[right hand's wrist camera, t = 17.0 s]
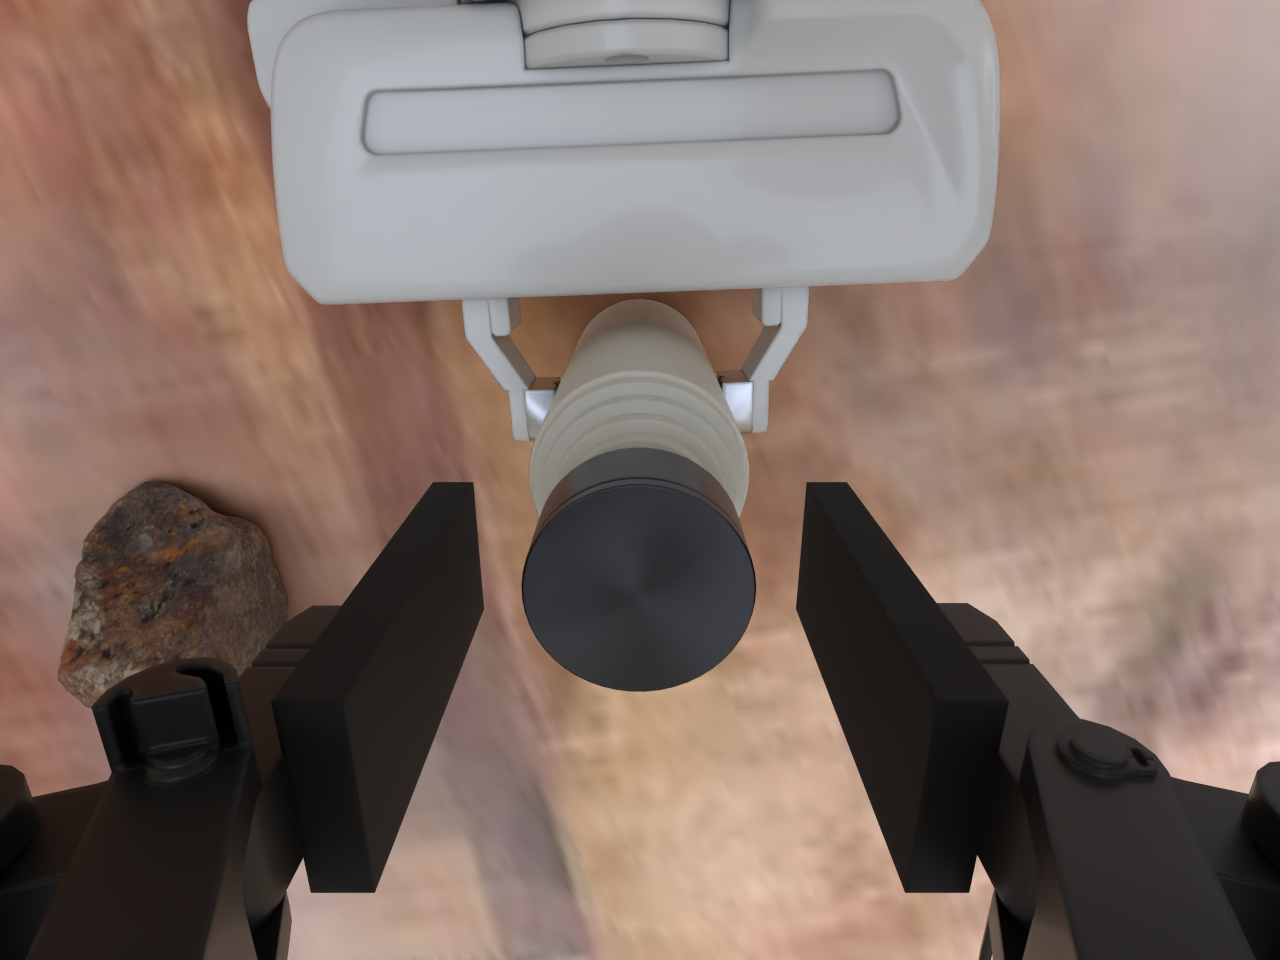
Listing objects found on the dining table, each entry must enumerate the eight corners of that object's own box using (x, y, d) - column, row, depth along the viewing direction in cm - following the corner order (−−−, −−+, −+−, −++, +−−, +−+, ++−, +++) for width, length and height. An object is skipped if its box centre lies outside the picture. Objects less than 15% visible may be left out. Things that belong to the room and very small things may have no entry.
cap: (764, 599, 15) (781, 657, 13) (577, 653, 15) (569, 716, 14) (707, 418, 14) (719, 453, 12) (506, 482, 14) (484, 526, 12)
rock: (319, 475, 33) (94, 474, 33) (212, 544, 25) (-88, 542, 25) (351, 755, 37) (150, 754, 37) (268, 896, 29) (10, 894, 29)
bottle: (556, 398, 31) (448, 649, 14) (603, 277, 29) (550, 386, 12) (672, 445, 32) (712, 740, 14) (725, 329, 30) (843, 505, 13)
